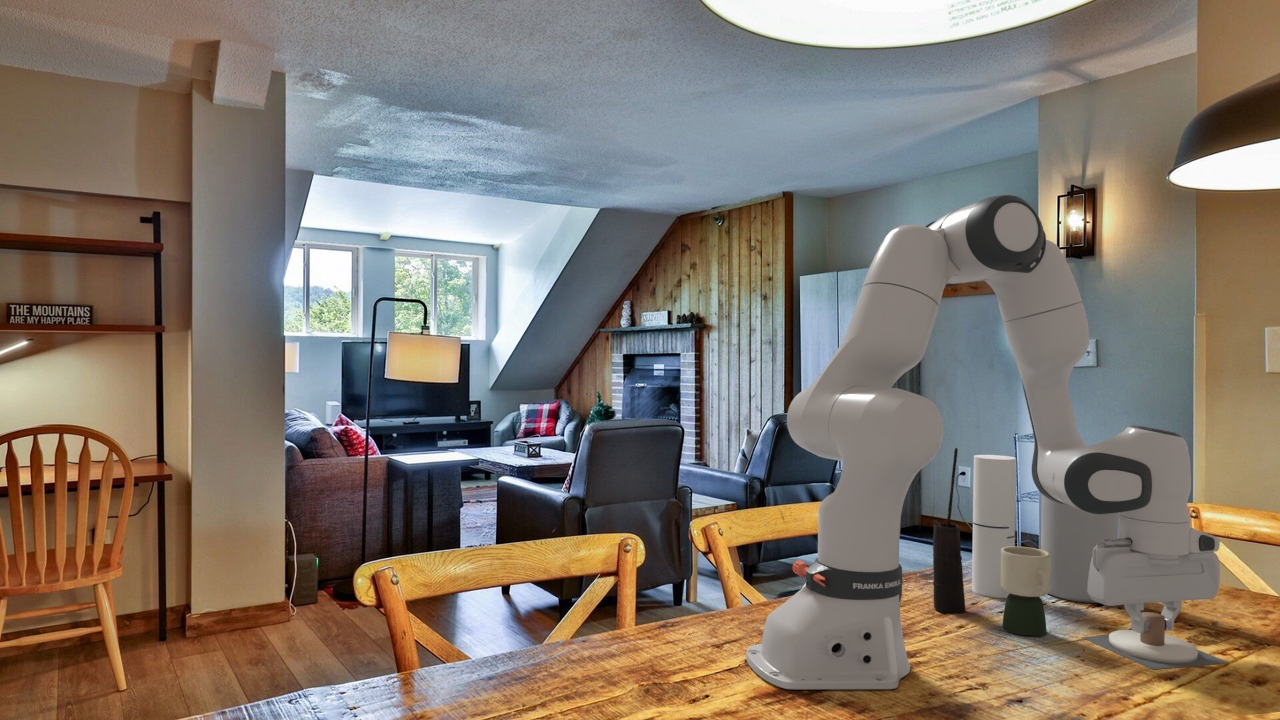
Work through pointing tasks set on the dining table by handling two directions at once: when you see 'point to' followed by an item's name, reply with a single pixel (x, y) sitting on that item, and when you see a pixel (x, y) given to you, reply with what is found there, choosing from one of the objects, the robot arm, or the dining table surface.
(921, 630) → the dining table surface
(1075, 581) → the cylinder vase
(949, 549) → the butter churn
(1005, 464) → the cylindrical container
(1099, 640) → the mat
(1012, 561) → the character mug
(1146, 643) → the lid
